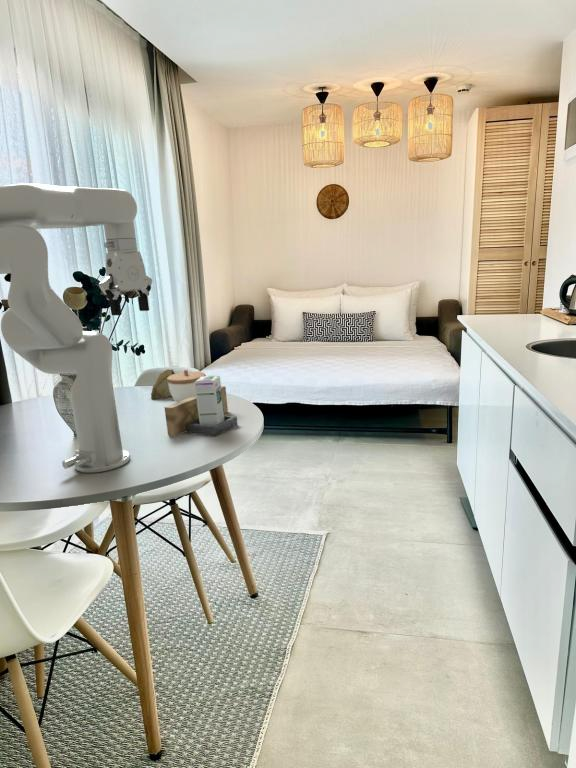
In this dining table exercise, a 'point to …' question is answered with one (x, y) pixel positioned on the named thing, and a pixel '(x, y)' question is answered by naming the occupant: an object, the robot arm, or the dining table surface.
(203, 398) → the syrup box
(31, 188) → the robot arm
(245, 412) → the dining table surface
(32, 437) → the dining table surface
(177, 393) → the lidded bowl
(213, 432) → the tray
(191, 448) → the dining table surface
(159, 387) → the rock
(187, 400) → the board
